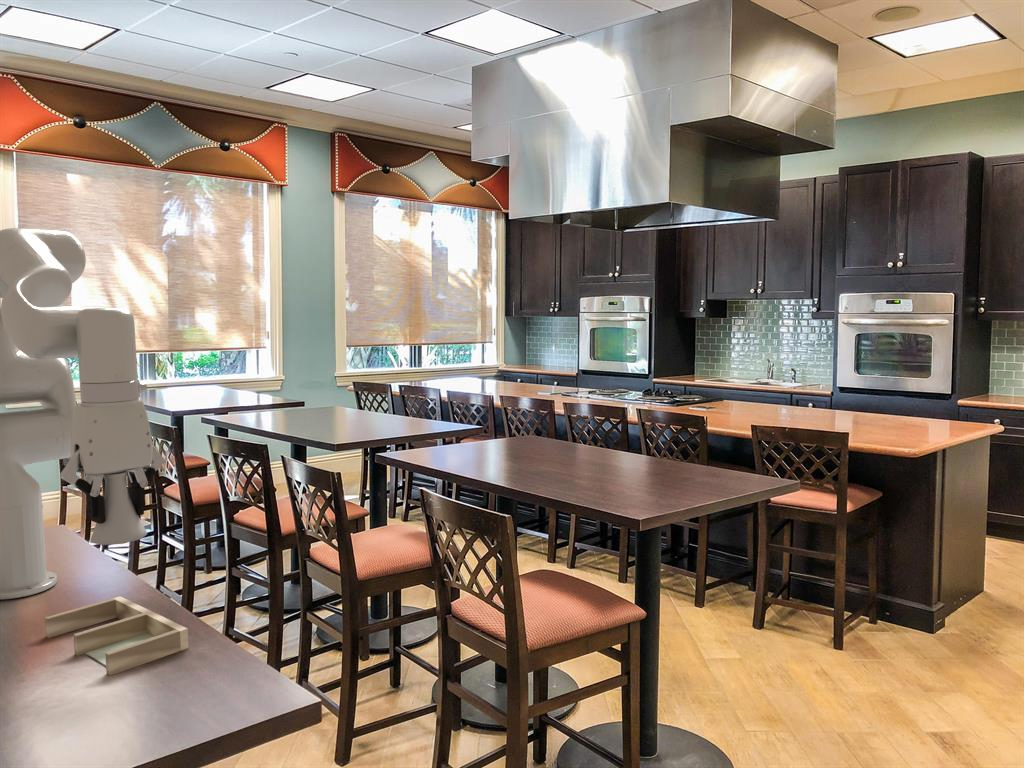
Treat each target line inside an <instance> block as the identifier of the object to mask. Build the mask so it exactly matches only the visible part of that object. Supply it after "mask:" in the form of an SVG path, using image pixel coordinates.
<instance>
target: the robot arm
mask: <svg viewBox="0 0 1024 768" xmlns="http://www.w3.org/2000/svg"><path fill="white" fill-rule="evenodd" d="M86 257H87V256H86V252H85V249H84V247H83V244H82V243H81V241H80V240H79V239H78V238H77V237H76V236H75V235H73V234H72V233H70V232H69V231H65V230H55V229H40V228H38V229H37V228H22V227H20V228H19V227H14V228H5V229H0V299H1V302H0V303H1V304H0V406H8V405H9V406H11V405H19V404H32V403H39V404H40V405H41V406H42V408H39V409H29V410H24V409H23V410H17V411H6V412H0V600H10V599H18V598H22V597H29V596H32V595H35V594H39V593H41V592H44V591H46V590H48V589H50V588H52V587H54V586H55V585H56V584H57V581H58V575H57V574H56V573H55V572H53V571H50V570H47V557H46V542H45V527H44V526H45V525H44V524H45V522H44V512H43V511H44V509H43V507H44V506H43V497H42V495H43V494H42V489H41V486H40V483H39V482H38V481H37V480H36V478H34V477H33V476H32V475H31V474H30V473H29V472H27V471H26V469H25V466H27V465H31V464H37V463H43V462H49V461H55V460H56V461H57V460H63V459H67V458H70V459H69V461H68V462H67V464H66V465H65V466H64V468H63V469H62V471H61V472H60V474H59V478H60V479H62V480H63V481H64V482H67V483H69V484H70V485H72V486H74V487H75V488H76V489H78V491H81V493H83V494H84V495H86V507H87V510H86V511H87V516H88V518H90V521H91V522H93V523H95V524H96V523H99V524H102V523H104V522H105V507H104V495H101V487H102V482H103V479H104V478H103V475H105V474H111V473H117V472H123V471H128V474H127V476H128V477H129V480H130V485H129V486H128V487H127V490H128V493H129V497H130V499H131V501H132V503H133V506H134V508H135V510H136V512H137V515H138V516H143V515H144V514H145V507H146V505H147V503H146V491H145V489H146V488H147V487H148V485H149V481H150V480H151V479H152V478H153V477H154V475H155V474H156V471H158V470H159V469H160V468H161V467H162V466H163V465H164V463H166V459H165V458H164V456H162V455H161V454H160V452H158V450H157V449H156V448H155V447H154V446H153V442H152V441H153V439H152V433H151V432H152V431H151V428H150V427H151V426H150V422H149V418H148V413H147V409H146V406H145V402H144V401H143V400H140V398H141V394H142V393H145V392H147V390H148V385H147V384H146V382H142V383H141V382H140V380H139V378H138V374H139V373H138V361H137V342H136V327H135V325H136V324H135V317H134V314H133V313H132V311H131V310H130V309H128V308H125V307H107V306H97V305H96V306H75V305H74V306H71V305H69V306H65V305H63V306H61V305H62V304H64V302H66V301H67V299H68V298H69V296H70V295H71V293H72V289H73V283H75V282H76V281H77V280H79V279H80V277H81V276H82V275H83V273H84V271H85V268H86V261H87V258H86ZM69 358H70V359H71V358H77V361H78V373H79V374H78V377H79V388H80V389H79V392H80V393H79V394H80V404H77V398H76V392H75V386H74V380H73V376H72V371H71V369H70V365H69V364H68V363H69V362H67V360H66V359H69ZM77 473H80V474H83V473H84V474H85V476H84V479H83V478H81V477H80V476H78V475H77Z"/></svg>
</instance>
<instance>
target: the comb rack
mask: <svg viewBox="0 0 1024 768" xmlns="http://www.w3.org/2000/svg"><path fill="white" fill-rule="evenodd" d="M113 619H119V620H117V621H113V622H110V623H106V624H102V625H99V626H97V627H94V628H89V629H87V630H83V631H81V632H77V633H73V646H74V647H73V648H74V655H75V656H78V657H79V656H81V655H87V656H88V657H90V658H92V660H95V661H96V662H98V663H99V664H102V665H103V666H104V667H106V668H105V669H106V675H108V676H110V677H111V676H113V675H116V674H119V673H122V672H124V671H128V670H131V669H133V668H136V667H138V666H139V667H140V666H142V665H144V664H147V663H150V662H153V661H155V660H158V659H161V658H165V657H166V656H169V655H172V654H173V655H174V654H175V653H179V652H182V651H185V650H187V649H189V647H190V646H189V628H187V627H185V626H183V625H181V624H179V623H177V622H175V621H173V620H172V619H171V620H170V619H169V618H166V617H165V616H163V615H160V614H159V613H156V612H154V611H152V610H150V609H149V608H146V607H144V606H141V605H139V604H138V603H135V602H133V601H132V600H129V599H127V598H125V597H123V596H121V595H120V596H117V597H112V598H110V599H109V598H108V599H105V600H102V601H98V602H94V603H91V604H87V605H84V606H81V607H77V608H74V609H70V610H67V611H64V612H63V611H62V612H59V613H56V614H53V615H49V616H45V617H44V627H45V637H46V638H48V639H51V638H53V637H57V636H60V635H63V634H68V633H70V632H73V631H76V630H81V629H83V628H86V627H90V626H93V625H94V626H95V625H97V624H100V623H102V622H103V623H104V622H106V621H109V620H113Z"/></svg>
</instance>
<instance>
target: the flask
mask: <svg viewBox="0 0 1024 768" xmlns="http://www.w3.org/2000/svg"><path fill="white" fill-rule="evenodd" d="M127 476H128V471H123V472H117V473H111V474H105V475H103V479H104V494H103V497H104V507H105V522H104V523H102V524H99V523H96V522H95V526H94V529H93V530H92V531H93V532H92V535H91V537H90V541H89V543H91V544H96V545H101V546H109V545H123V544H128V543H130V542H134V541H135V542H136V541H139V540H142V539H143V538H144V537H146V535H148V531H146V528H145V526H144V523H142V520H141V519H140V515H137V512H136V510H135V508H134V506H133V503H132V501H131V499H130V497H129V493H128V487H127V478H126V477H127Z"/></svg>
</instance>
